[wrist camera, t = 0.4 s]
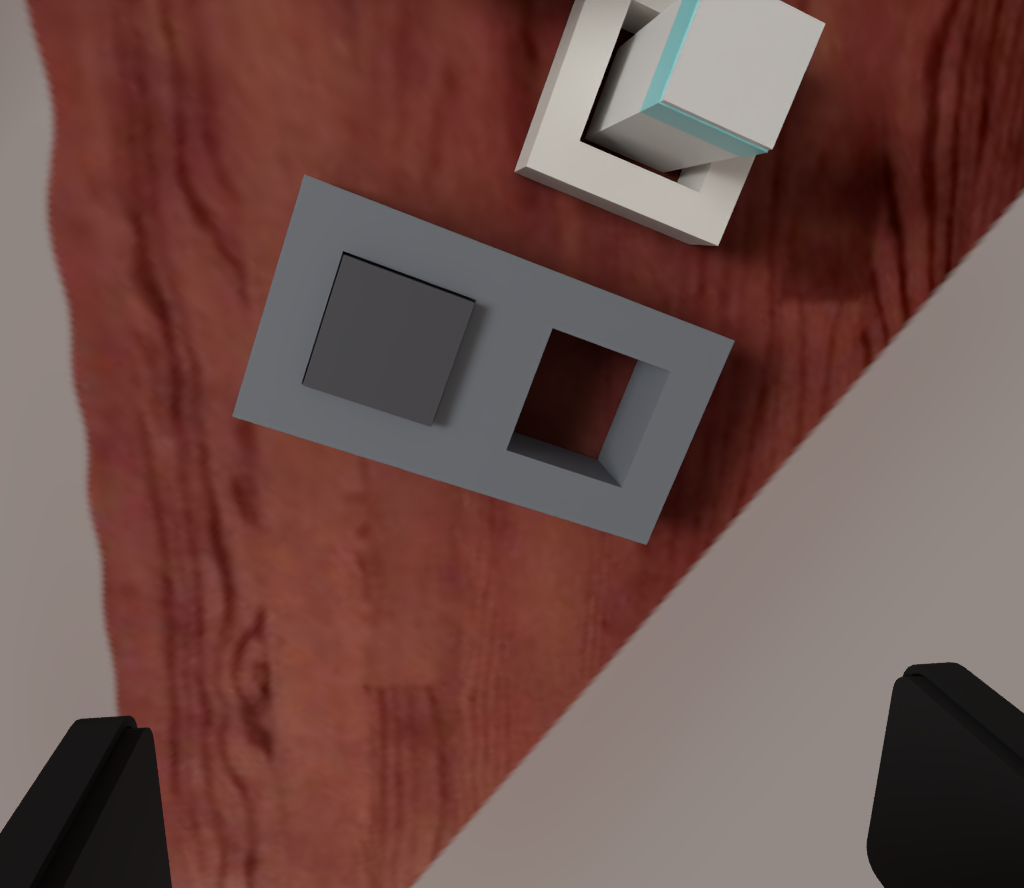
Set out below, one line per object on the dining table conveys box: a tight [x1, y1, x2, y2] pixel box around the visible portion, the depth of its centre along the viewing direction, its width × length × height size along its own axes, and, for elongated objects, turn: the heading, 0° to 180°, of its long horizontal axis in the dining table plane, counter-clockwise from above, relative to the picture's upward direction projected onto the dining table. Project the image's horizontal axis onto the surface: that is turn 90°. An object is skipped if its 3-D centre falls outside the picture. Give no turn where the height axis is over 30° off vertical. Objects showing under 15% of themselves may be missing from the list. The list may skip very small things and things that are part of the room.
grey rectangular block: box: [232, 175, 734, 545], centre depth 34 cm, size 10×19×5 cm, turn 70°
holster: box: [514, 0, 756, 246], centre depth 33 cm, size 9×9×4 cm
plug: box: [585, 0, 825, 173], centre depth 30 cm, size 4×4×11 cm
